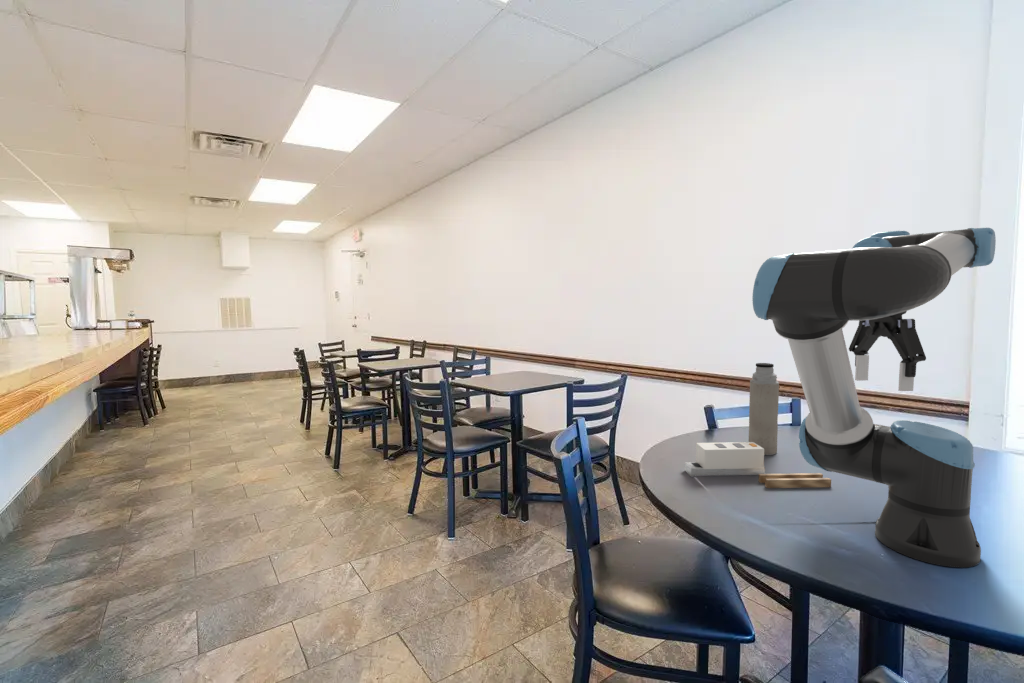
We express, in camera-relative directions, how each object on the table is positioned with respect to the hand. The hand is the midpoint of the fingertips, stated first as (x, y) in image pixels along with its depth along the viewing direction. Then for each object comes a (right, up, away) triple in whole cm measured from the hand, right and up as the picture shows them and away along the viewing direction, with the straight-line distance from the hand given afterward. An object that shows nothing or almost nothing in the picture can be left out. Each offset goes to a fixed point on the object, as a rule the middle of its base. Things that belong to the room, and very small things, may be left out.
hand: (882, 385), depth 110 cm
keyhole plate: (-31, -26, +16) cm, 44 cm away
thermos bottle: (-11, -24, +34) cm, 43 cm away
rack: (-17, -27, +7) cm, 32 cm away
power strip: (-30, -26, +16) cm, 42 cm away
